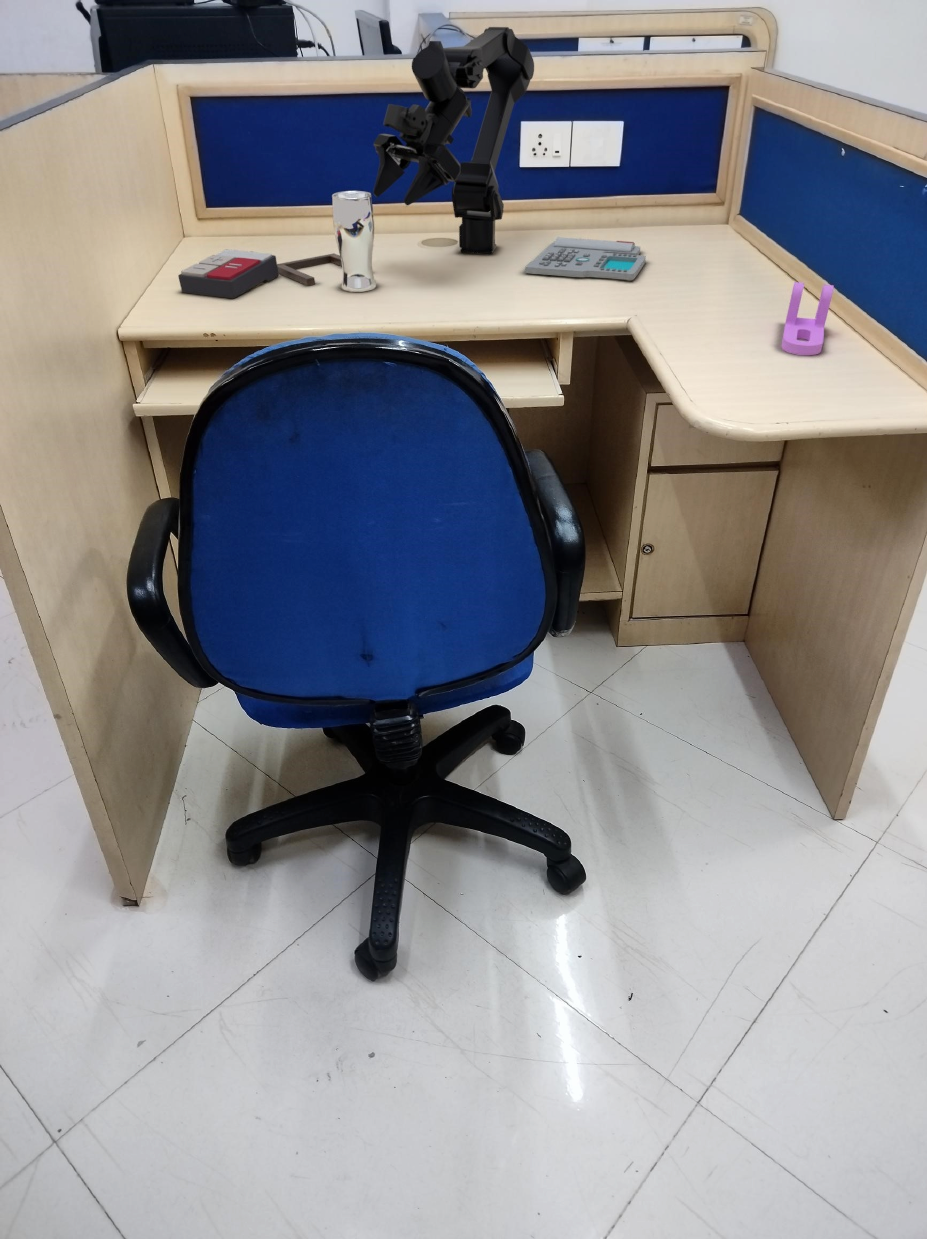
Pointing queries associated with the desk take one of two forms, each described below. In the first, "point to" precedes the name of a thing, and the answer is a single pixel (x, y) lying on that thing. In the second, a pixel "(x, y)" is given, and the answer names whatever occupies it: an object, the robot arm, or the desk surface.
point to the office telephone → (589, 259)
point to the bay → (289, 267)
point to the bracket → (805, 323)
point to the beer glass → (355, 238)
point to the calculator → (228, 273)
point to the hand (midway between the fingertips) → (389, 199)
